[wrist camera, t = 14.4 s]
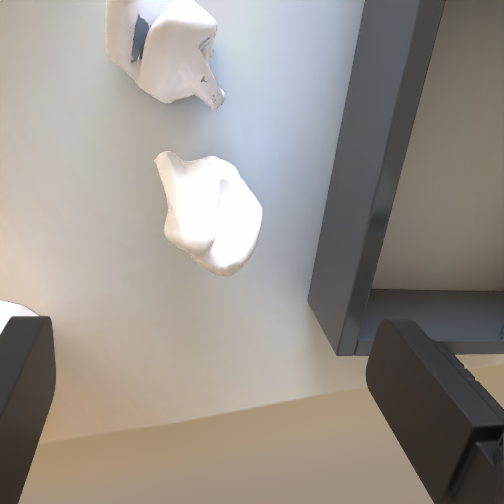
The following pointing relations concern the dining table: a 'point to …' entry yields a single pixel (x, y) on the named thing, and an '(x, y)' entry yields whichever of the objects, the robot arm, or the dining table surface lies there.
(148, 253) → the dining table surface
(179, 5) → the shaker set
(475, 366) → the dining table surface
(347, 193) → the grey open box
